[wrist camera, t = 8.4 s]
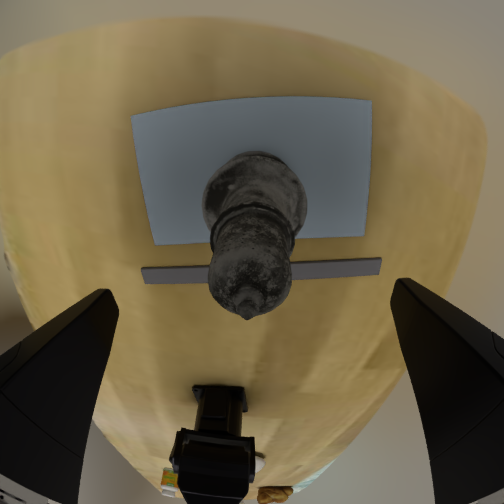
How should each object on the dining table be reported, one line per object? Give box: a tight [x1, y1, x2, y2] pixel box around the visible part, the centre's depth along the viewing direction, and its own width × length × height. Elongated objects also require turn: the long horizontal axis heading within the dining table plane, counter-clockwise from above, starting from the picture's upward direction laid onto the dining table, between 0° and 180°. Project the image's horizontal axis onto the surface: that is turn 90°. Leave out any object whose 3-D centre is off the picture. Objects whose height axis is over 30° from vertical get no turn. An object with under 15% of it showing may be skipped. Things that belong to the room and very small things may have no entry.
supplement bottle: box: [161, 468, 179, 497], centre depth 56 cm, size 5×5×10 cm
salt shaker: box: [201, 151, 307, 320], centre depth 13 cm, size 6×6×12 cm
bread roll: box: [257, 486, 293, 504], centre depth 66 cm, size 13×10×8 cm
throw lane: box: [131, 96, 382, 284], centre depth 19 cm, size 14×20×1 cm
